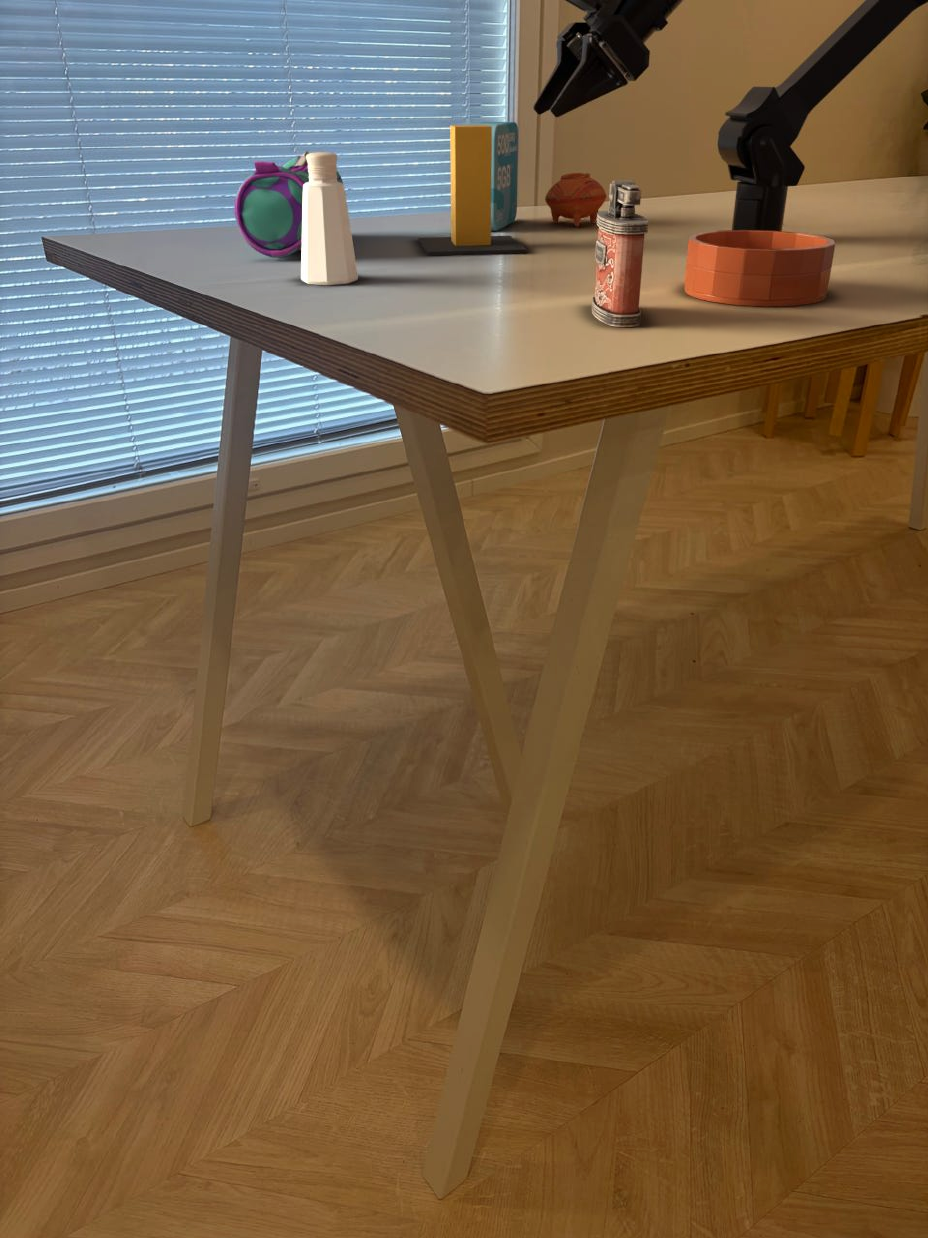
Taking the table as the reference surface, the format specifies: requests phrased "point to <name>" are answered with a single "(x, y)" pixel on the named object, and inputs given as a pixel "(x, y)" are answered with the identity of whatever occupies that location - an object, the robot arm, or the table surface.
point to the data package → (503, 173)
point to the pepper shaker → (326, 225)
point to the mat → (448, 248)
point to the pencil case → (273, 206)
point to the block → (471, 184)
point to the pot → (575, 197)
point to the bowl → (758, 267)
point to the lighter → (619, 257)
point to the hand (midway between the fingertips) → (544, 112)
